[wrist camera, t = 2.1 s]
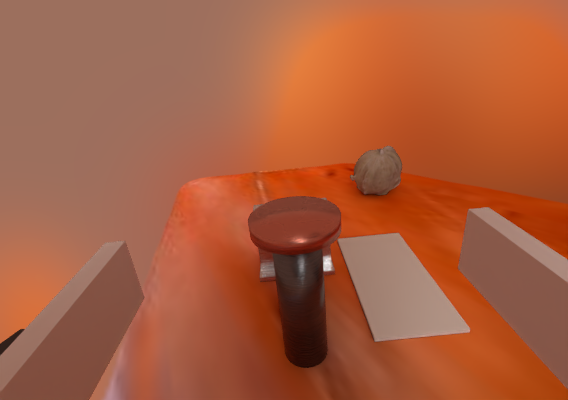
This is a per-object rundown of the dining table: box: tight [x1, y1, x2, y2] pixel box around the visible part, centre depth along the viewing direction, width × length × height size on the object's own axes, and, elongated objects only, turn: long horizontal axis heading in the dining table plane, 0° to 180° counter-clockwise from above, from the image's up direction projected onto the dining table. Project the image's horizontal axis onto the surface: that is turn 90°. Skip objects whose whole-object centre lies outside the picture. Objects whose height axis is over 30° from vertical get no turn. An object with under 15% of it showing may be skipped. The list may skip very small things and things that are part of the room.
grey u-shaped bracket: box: [253, 198, 335, 282], centre depth 39 cm, size 9×5×9 cm, turn 93°
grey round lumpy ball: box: [350, 146, 402, 195], centre depth 58 cm, size 9×8×10 cm
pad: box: [337, 233, 470, 342], centre depth 37 cm, size 9×18×1 cm, turn 3°
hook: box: [248, 196, 341, 368], centre depth 34 cm, size 7×24×14 cm, turn 3°
